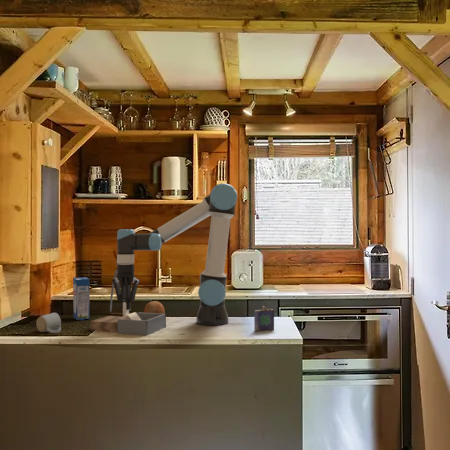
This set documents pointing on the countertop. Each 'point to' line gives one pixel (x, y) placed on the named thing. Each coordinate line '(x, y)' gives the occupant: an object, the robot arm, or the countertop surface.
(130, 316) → the birch tile
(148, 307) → the onion
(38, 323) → the ceramic mug
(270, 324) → the flask
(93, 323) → the walnut platform
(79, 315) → the milk carton
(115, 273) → the grey forked piece
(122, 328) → the box
